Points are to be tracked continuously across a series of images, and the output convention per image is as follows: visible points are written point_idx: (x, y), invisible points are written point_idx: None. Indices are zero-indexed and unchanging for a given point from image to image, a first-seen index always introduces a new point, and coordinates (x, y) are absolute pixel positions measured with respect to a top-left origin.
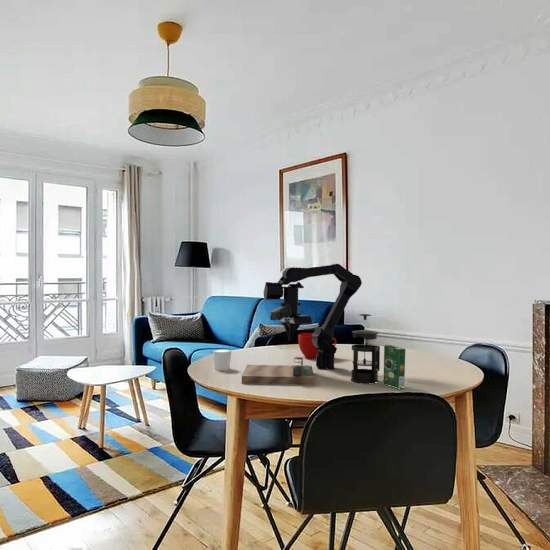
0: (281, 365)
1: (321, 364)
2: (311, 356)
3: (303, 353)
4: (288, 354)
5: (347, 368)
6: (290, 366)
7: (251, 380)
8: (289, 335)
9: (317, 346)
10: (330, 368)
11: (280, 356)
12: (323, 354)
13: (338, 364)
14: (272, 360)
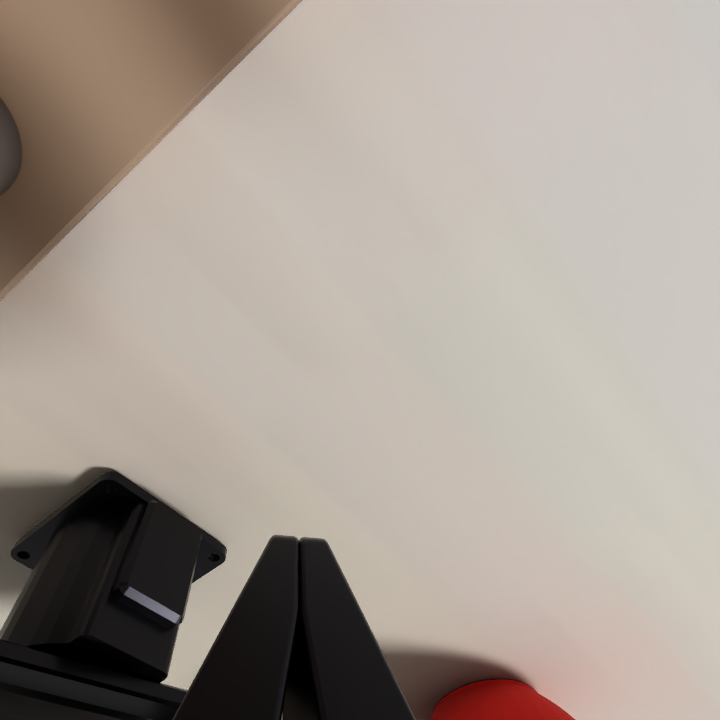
0: (226, 48)
1: (96, 528)
2: (464, 697)
3: (538, 702)
4: (688, 679)
5: None
6: (72, 90)
7: None
8: (254, 647)
9: (17, 698)
10: (31, 531)
11: (711, 611)
12: (27, 629)
13: (174, 670)
14: (701, 476)
